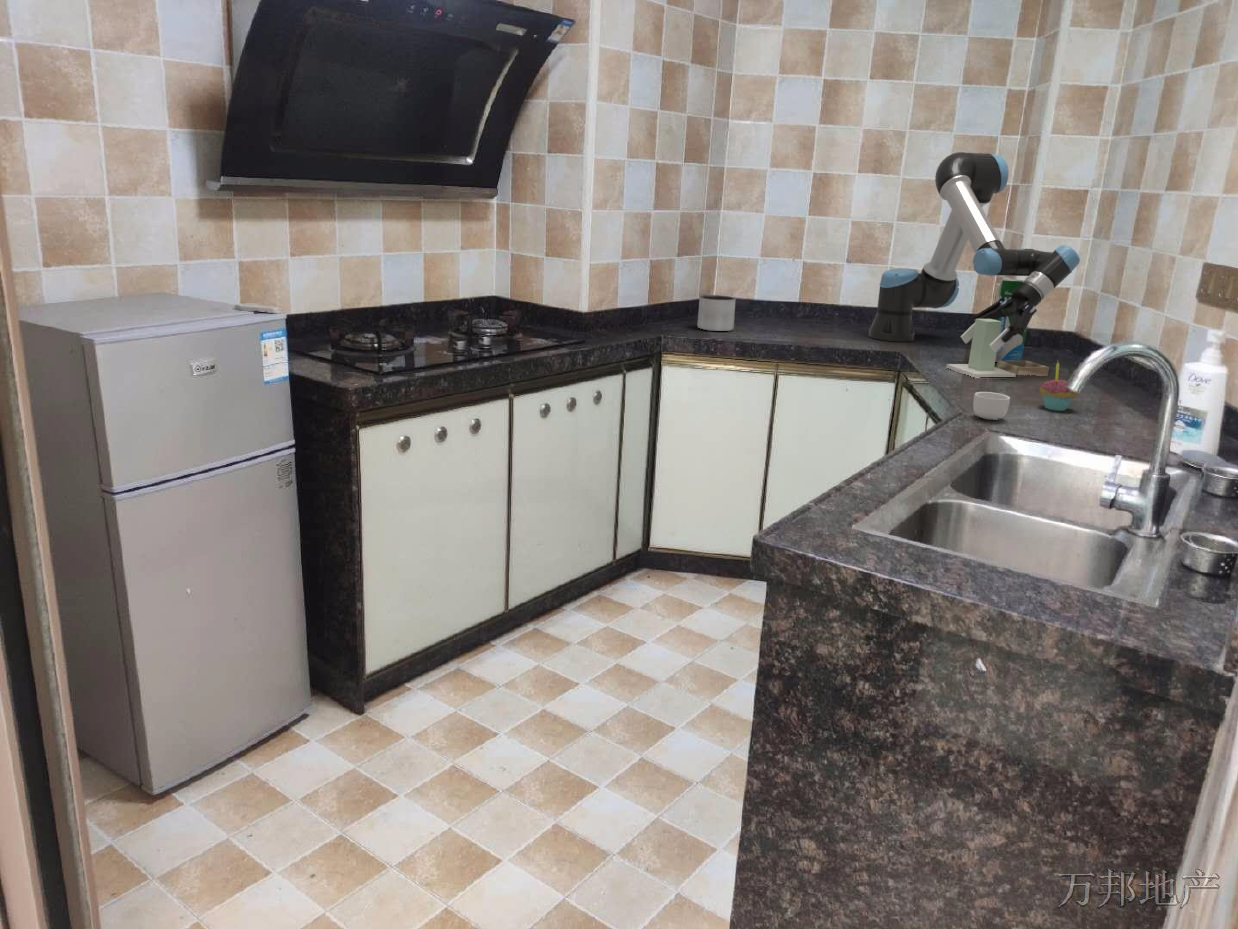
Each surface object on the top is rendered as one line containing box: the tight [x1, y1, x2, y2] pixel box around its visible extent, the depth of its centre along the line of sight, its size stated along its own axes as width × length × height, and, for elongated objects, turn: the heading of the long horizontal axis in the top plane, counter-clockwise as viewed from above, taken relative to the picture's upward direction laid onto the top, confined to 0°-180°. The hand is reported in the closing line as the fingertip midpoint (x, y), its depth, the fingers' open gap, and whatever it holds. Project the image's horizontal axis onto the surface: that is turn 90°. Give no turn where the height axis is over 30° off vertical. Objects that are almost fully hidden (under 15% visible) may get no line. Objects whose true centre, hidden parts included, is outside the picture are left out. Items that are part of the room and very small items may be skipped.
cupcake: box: [1039, 360, 1078, 412], centre depth 226 cm, size 9×8×12 cm
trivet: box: [946, 363, 1017, 379], centre depth 267 cm, size 14×13×1 cm
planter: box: [696, 294, 736, 332], centre depth 320 cm, size 13×12×11 cm
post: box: [967, 319, 1002, 371], centre depth 265 cm, size 5×5×14 cm
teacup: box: [972, 391, 1011, 419], centre depth 215 cm, size 10×8×5 cm
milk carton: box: [995, 279, 1029, 362], centre depth 283 cm, size 9×9×25 cm
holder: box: [995, 359, 1050, 377], centre depth 270 cm, size 10×10×2 cm
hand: (977, 344), depth 264 cm, fingers open, 13 cm apart
